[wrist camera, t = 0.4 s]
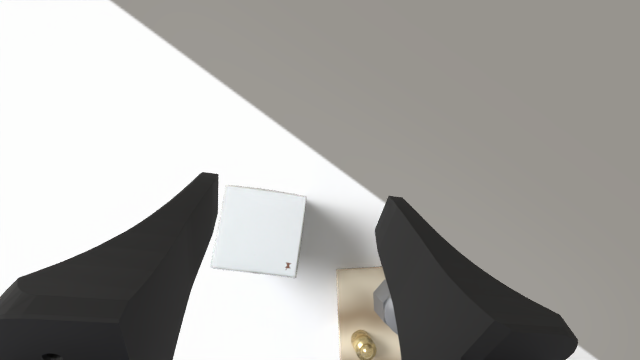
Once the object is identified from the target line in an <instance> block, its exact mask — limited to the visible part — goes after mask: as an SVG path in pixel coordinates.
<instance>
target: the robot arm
mask: <svg viewBox="0 0 640 360" xmlns="http://www.w3.org/2000/svg"><path fill="white" fill-rule="evenodd" d="M217 214H218V174H213V173H205V172H202V173H201V174H199V175H198V176H197V177H196V178H195V179H194V180H193V181H192V182H191V183H190V184H189V185H188V186H186V187H185V188H184V189H183V190H182V191H181V192H180V193H179V194H177V195H176V196H175V197H174V198H173V199H171V200H170V201H169V202H168V203H166V204H165V205H164V206H163V207H161V208H160V209H159V210H157V211H156V212H155V213H153V214H152V215H150V216H149V217H148V218H146V219H145V220H143V221H142V222H140V223H139V224H137V225H135V226H134V227H132V228H131V229H129V230H127V231H126V232H124V233H122V234H120V235H118V236H116V237H114V238H112V239H111V240H109V241H107V242H105V243H103V244H101V245H99V246H97V247H95V248H93V249H91V250H88V251H86V252H84V253H82V254H79V255H77V256H75V257H72V258H70V259H68V260H65V261H63V262H60V263H58V264H55V265H52V266H50V267H47V268H44V269H42V270H39V271H36V272H34V273H31V274H28V275H25V276H22V277H19V278H18V279H17V280H16V281H15V282H14V283H13V284H12V285H11V286H10V287H9V288H8V289H7V290H6V291H5V292H4V293H3V294H2V296H1V297H0V360H173V356H174V352H175V348H176V344H177V340H178V336H179V332H180V328H181V325H182V321H183V317H184V313H185V310H186V306H187V302H188V299H189V295H190V292H191V289H192V286H193V283H194V280H195V278H196V275H197V273H198V270H199V268H200V265H201V262H202V260H203V257H204V255H205V252H206V250H207V247H208V245H209V242H210V239H211V237H212V234H213V230H214V226H215V222H216V218H217ZM375 234H376V242H377V249H378V253H379V257H380V261H381V264H382V268H383V271H384V275H385V278H386V282H387V285H388V288H389V292H390V295H391V299H392V303H393V308H394V314H395V319H396V325H397V331H398V338H399V345H400V352H401V360H566V359H567V358H568V357H569V356H570V355H572V354H573V353H574V351H575V350H576V348H577V345H578V339H577V338H576V337H575V335H574V334H573V332H572V331H571V330H570V328H569V327H568V326H567V324H566V323H565V321H564V320H563V319H562V317H561V316H560V315H559V314H557V313H555V312H553V311H551V310H549V309H547V308H545V307H543V306H542V305H540V304H538V303H536V302H534V301H532V300H530V299H528V298H526V297H525V296H523V295H521V294H519V293H518V292H516V291H514V290H512V289H511V288H509V287H507V286H506V285H504V284H503V283H501V282H500V281H498V280H496V279H495V278H493V277H492V276H491V275H489V274H488V273H486V272H484V271H483V270H482V269H480V268H479V267H478V266H476V265H475V264H473V263H472V262H471V261H469V260H468V259H467V258H466V257H465V256H463V255H462V254H461V253H459V252H458V251H457V250H456V249H455V248H454V247H452V246H451V245H450V244H449V243H448V242H447V241H446V240H445V239H444V238H442V237H441V236H440V235H439V234H438V233H437V232H436V231H435V230H434V229H433V228H432V227H431V226H430V225H429V224H428V223H427V222H426V221H425V220H424V219H423V218H422V217H421V216H420V215H419V214H418V213H417V212H416V211H415V210H414V209H413V208H412V207H411V206H410V205H409V204H408V203H407V202H406V201H405V200H404V199H403V198H401V197H393V196H389V197H388V199H387V202H386V204H385V207H384V209H383V211H382V214H381V216H380V219H379V221H378V224H377V226H376V229H375Z"/></svg>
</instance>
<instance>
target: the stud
mask: <svg viewBox="0 0 640 360" xmlns="http://www.w3.org/2000/svg"><path fill="white" fill-rule="evenodd" d="M351 344H352V346H353V348H354V350H355V352H356V354H357V356H358V358H359V359H360V360H372V359H373V358H374V357H375V355H376V352H377V348H376V345H375V344H374V342H373V340H372V339H371V337H370V336H369V334H368V333H367V332H366V331H364V330H357V331H355V332H354V333H353V334H352V337H351Z"/></svg>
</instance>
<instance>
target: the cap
mask: <svg viewBox="0 0 640 360" xmlns="http://www.w3.org/2000/svg"><path fill="white" fill-rule="evenodd" d="M373 299H374V311H375V312H376V313H377V314H378V316H379V317H380V318H381V319H382V321H383V322H384V323H385V324H386V325H387V326H389V327H390V329H391V330H392V331H393V332H395V333H396V334H397V335H398V331H397V325H396V319H395V314H394V308H393V303H392V299H391V295H390V292H389V288H388V285H387V282H386V279H385V280H384V281H383V282H382V283H381V284H380V285H379V286H378V288H377V289H376V290H375V291H374V292H373Z"/></svg>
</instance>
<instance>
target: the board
mask: <svg viewBox="0 0 640 360" xmlns="http://www.w3.org/2000/svg"><path fill="white" fill-rule="evenodd" d="M336 271H337V298H338V324H339V350H340V360H360V359H359V358H358V356H357V354H356V352H355V350H354V348H353V346H352V344H351V337H352V334H353V333H354V332H355V331H357V330H364V331H366V332H367V333H368V334H369V336H370V337H371V339H372V340H373V342H374V344H375V345H376V348H377V352H376V355H375V357H374V358H373V359H372V360H401V352H400V345H399V338H398V335H397V334H396V333H395V332H393V331H392V330H391V329H390V327H389V326H387V325H386V324H385V323H384V322H383V321H382V319H381V318H380V317H379V316H378V314H377V313H376V312H375V311H374V299H373V292H374V291H375V290H376V289H377V288H378V286H379V285H380V284H381V283H382V282H383V281H384V280H385V279H386V278H385V275H384V271H383V268H382V267H368V268H353V269H338V270H336Z"/></svg>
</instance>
